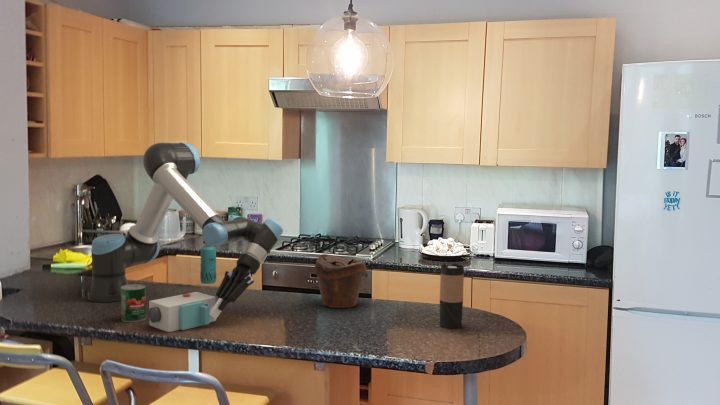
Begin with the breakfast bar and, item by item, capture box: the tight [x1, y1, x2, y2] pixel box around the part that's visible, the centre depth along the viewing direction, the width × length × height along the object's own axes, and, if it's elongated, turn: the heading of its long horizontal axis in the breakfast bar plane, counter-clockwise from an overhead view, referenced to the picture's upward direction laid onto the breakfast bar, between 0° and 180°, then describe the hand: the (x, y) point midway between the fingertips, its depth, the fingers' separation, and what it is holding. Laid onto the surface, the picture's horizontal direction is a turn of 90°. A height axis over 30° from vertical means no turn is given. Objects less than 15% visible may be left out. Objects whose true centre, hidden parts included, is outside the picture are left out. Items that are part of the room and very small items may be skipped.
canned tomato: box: [120, 283, 147, 323], centre depth 215 cm, size 8×8×11 cm
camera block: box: [147, 291, 217, 333], centre depth 210 cm, size 11×20×9 cm, turn 139°
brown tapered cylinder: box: [313, 253, 369, 309], centre depth 239 cm, size 18×20×18 cm
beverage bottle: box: [199, 240, 217, 285], centre depth 264 cm, size 6×7×20 cm
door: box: [180, 302, 211, 331], centre depth 204 cm, size 4×8×8 cm, turn 139°
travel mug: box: [439, 263, 465, 329], centre depth 213 cm, size 8×8×20 cm
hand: (211, 317), depth 207 cm, fingers closed
